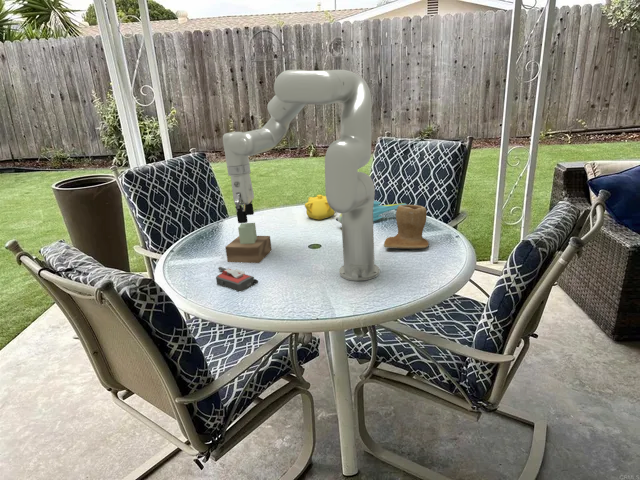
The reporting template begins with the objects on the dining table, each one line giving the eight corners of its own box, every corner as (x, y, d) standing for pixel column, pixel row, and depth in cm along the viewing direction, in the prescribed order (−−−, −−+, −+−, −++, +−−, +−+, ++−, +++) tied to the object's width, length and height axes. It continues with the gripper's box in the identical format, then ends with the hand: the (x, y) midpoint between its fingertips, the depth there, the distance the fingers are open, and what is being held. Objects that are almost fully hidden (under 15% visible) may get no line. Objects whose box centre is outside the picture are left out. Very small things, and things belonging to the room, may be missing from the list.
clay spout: (428, 240, 161) (428, 200, 156) (428, 252, 151) (429, 210, 146) (386, 240, 165) (385, 201, 160) (383, 252, 154) (382, 210, 149)
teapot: (310, 212, 207) (308, 191, 203) (337, 212, 205) (336, 190, 201) (304, 221, 194) (302, 199, 190) (333, 221, 192) (332, 198, 188)
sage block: (254, 243, 155) (252, 227, 153) (240, 244, 155) (238, 227, 153) (256, 238, 159) (255, 222, 157) (243, 239, 160) (241, 223, 158)
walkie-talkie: (263, 283, 137) (221, 270, 149) (262, 270, 136) (220, 258, 148) (242, 294, 131) (200, 280, 143) (240, 280, 129) (198, 267, 141)
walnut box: (259, 264, 152) (257, 247, 150) (227, 262, 155) (225, 246, 153) (271, 251, 163) (269, 235, 161) (241, 250, 166) (239, 235, 164)
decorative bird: (329, 226, 186) (327, 205, 182) (386, 212, 199) (386, 191, 196) (346, 234, 174) (345, 212, 171) (406, 219, 187) (406, 197, 184)
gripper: (243, 173, 140) (251, 225, 146) (255, 164, 156) (261, 211, 162) (220, 175, 141) (229, 226, 146) (234, 166, 157) (241, 212, 163)
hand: (246, 218), depth 154 cm, fingers open, 9 cm apart
